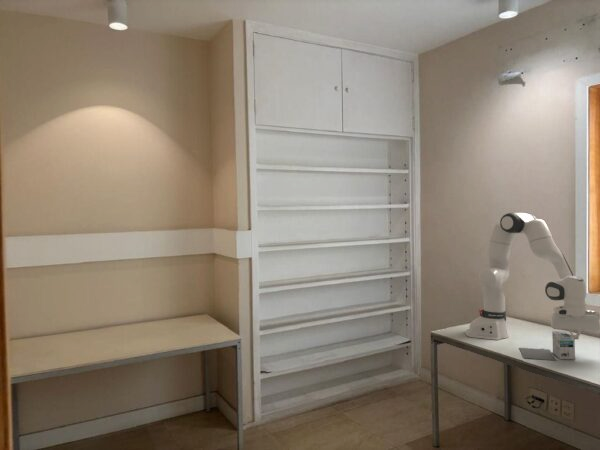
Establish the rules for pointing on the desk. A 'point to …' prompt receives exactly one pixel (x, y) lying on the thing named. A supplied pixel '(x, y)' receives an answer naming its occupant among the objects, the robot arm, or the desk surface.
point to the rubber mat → (537, 354)
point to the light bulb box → (563, 345)
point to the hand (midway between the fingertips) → (574, 339)
